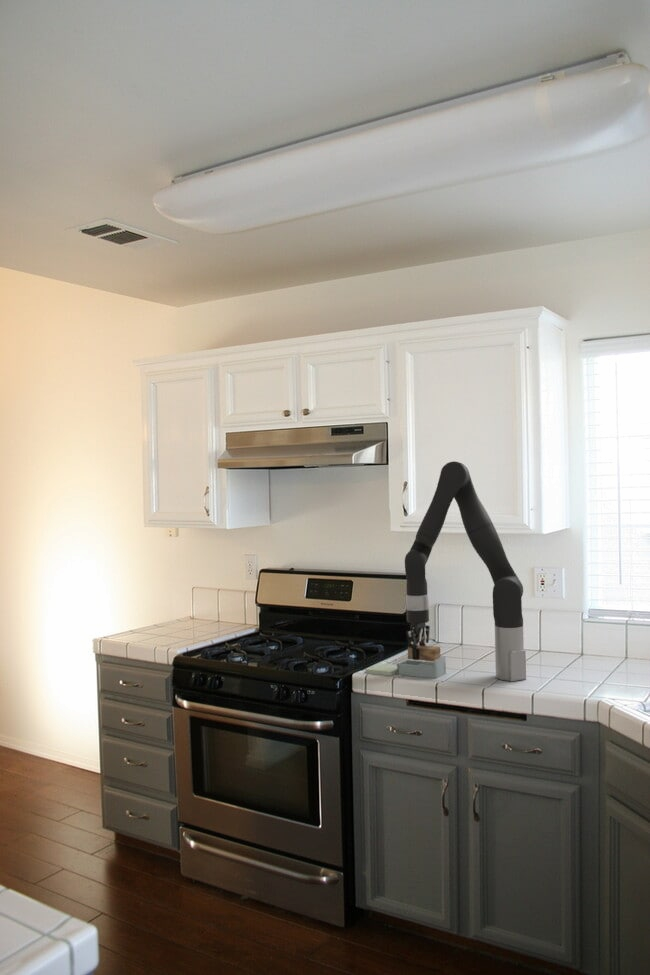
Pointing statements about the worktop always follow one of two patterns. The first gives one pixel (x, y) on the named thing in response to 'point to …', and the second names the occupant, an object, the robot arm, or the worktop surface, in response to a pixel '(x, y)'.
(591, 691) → the worktop surface
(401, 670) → the pale blue tray
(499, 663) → the robot arm
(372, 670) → the plate
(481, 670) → the worktop surface
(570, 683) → the worktop surface
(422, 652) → the walnut bar
